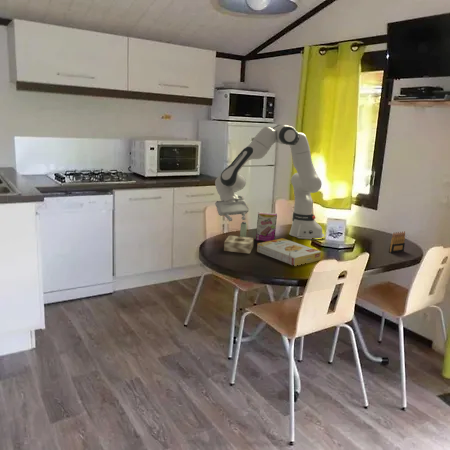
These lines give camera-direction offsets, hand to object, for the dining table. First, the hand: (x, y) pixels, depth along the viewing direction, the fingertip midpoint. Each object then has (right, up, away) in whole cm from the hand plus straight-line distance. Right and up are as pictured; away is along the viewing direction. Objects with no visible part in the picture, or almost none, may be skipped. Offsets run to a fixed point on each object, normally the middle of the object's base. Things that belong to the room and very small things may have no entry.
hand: (237, 220), depth 258 cm
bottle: (+3, -13, -2) cm, 13 cm away
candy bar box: (+16, -12, +5) cm, 21 cm away
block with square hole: (0, -16, -15) cm, 21 cm away
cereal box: (+26, -20, -22) cm, 39 cm away
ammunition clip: (+91, -18, -2) cm, 93 cm away
